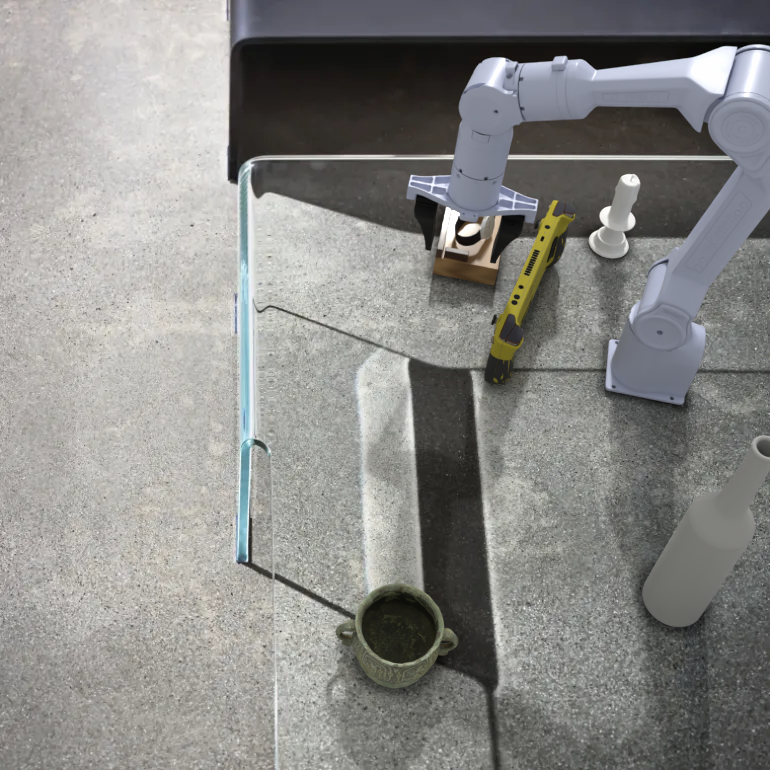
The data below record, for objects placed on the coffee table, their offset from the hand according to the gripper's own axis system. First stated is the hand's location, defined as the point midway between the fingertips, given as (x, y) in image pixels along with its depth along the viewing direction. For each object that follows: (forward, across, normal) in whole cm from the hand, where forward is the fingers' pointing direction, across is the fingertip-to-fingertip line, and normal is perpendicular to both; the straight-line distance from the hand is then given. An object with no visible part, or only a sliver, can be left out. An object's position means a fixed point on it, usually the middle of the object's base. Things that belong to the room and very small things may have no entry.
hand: (461, 251), depth 136 cm
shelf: (+10, +1, +12) cm, 16 cm away
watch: (+8, +1, +11) cm, 14 cm away
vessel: (+11, +1, -46) cm, 48 cm away
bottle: (+11, +29, -34) cm, 46 cm away
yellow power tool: (+11, +9, +1) cm, 14 cm away
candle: (+11, +19, +17) cm, 28 cm away
